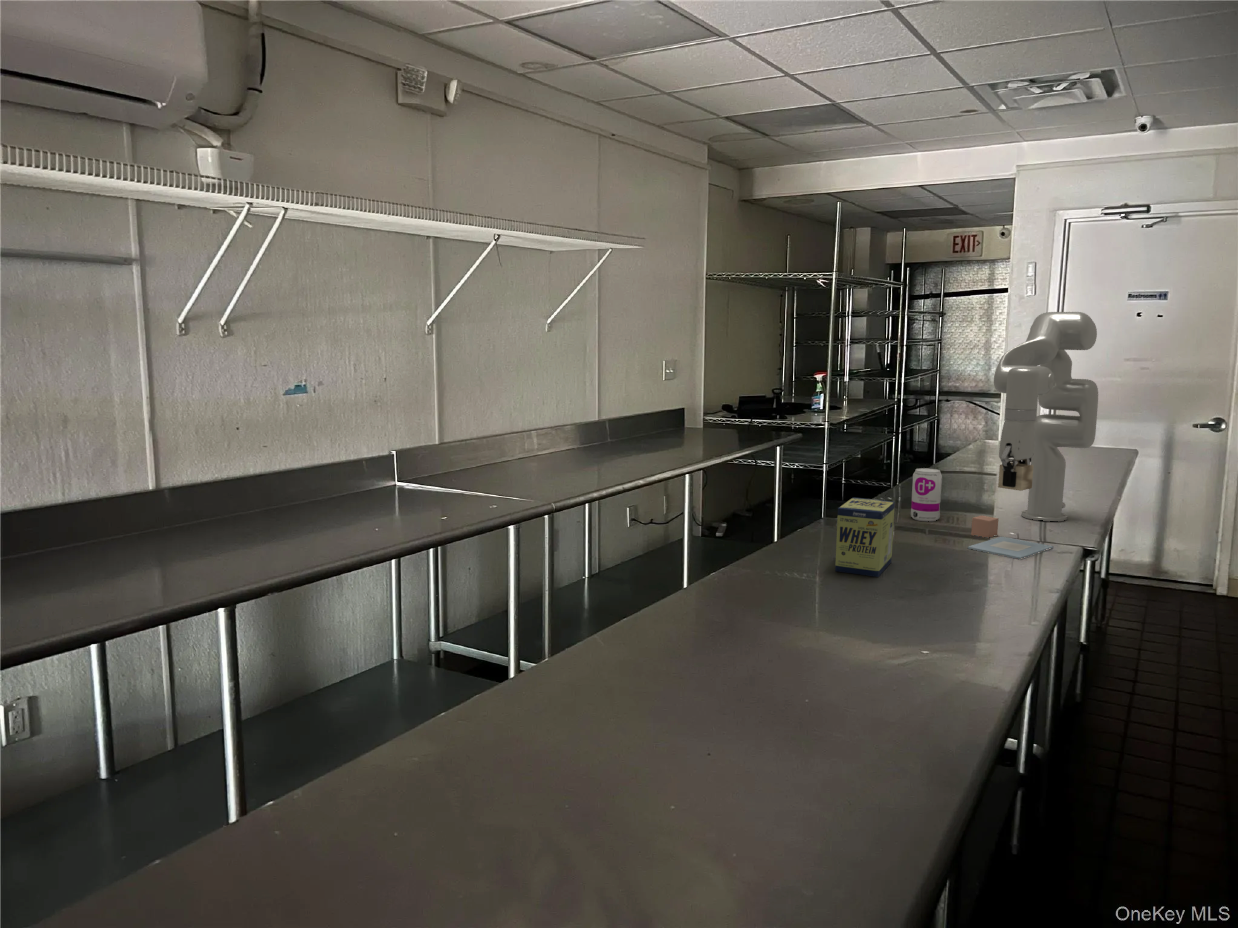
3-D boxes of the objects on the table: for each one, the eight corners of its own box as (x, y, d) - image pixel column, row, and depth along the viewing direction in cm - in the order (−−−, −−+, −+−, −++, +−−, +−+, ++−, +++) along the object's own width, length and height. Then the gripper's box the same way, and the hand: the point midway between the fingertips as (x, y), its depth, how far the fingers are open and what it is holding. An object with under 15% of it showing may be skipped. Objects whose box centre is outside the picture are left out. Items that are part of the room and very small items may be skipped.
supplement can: (934, 523, 262) (937, 473, 260) (906, 519, 267) (909, 470, 265) (943, 518, 269) (946, 469, 266) (915, 514, 273) (918, 467, 271)
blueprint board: (1001, 538, 244) (1001, 535, 243) (1053, 548, 233) (1053, 545, 233) (967, 548, 232) (967, 546, 232) (1020, 559, 222) (1020, 556, 221)
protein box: (834, 571, 210) (837, 507, 208) (849, 556, 224) (852, 496, 221) (879, 577, 205) (882, 512, 203) (892, 562, 219) (895, 500, 217)
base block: (1009, 484, 234) (1010, 462, 233) (1031, 488, 230) (1033, 465, 229) (998, 487, 230) (999, 464, 229) (1020, 490, 226) (1022, 467, 225)
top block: (980, 532, 251) (981, 515, 250) (997, 535, 247) (998, 518, 246) (971, 535, 248) (972, 517, 247) (988, 538, 244) (989, 520, 243)
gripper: (1022, 412, 235) (1017, 479, 238) (989, 416, 224) (984, 486, 227) (1050, 415, 230) (1045, 483, 233) (1018, 419, 219) (1013, 491, 222)
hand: (1015, 484), depth 230 cm, fingers closed on base block, 6 cm apart
